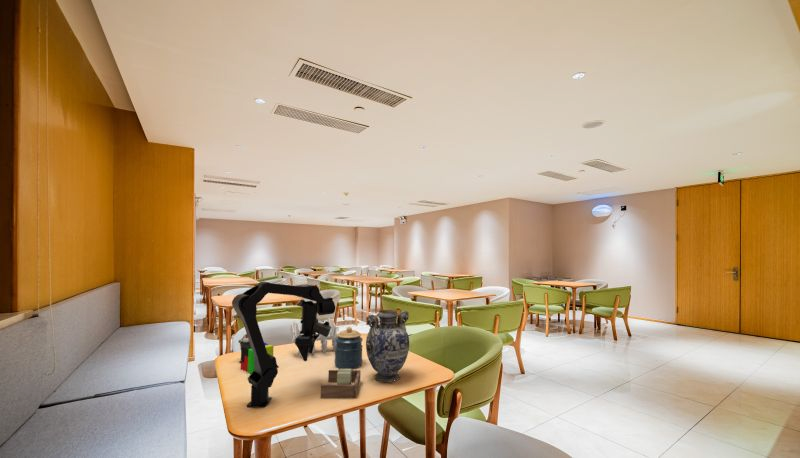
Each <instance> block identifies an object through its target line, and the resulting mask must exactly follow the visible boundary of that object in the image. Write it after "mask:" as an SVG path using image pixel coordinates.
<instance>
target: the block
mask: <svg viewBox="0 0 800 458" xmlns="http://www.w3.org/2000/svg"><path fill="white" fill-rule="evenodd" d="M337 370H338V373H337V382H336V385H352V383H353V382H352V370H353V369H340V368H338V369H337Z"/></svg>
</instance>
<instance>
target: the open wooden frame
mask: <svg viewBox="0 0 800 458" xmlns="http://www.w3.org/2000/svg"><path fill="white" fill-rule="evenodd" d="M338 370H339V369H329V370H328V375H327V376H328V378H327V379H328V380H327V381H328V383H337V373H338ZM352 383H354V384H351V385H337V384H321V385H320V398H319V399H357V396H358V393H359V388H360V383H361V370H360V369H358V370H357V369H352Z"/></svg>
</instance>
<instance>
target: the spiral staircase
mask: <svg viewBox="0 0 800 458" xmlns="http://www.w3.org/2000/svg"><path fill="white" fill-rule="evenodd" d="M326 321H327V322H329V325H330V326H331V330H330V332H329V335H328V336H327V337H325V336H323V335H321V334H320V335H319V337H318V338H317V339H316V340H315V342H316V341H320V344H321V347H320V348H321V349H322V350H321V352H322V353H326V351H327V349H328V346H327V345H328V341H330V340H331V346H332V351H335V346H336V341H335V339H336V338H338V336H337V334H338V333H340V332H341V331H340V330H339V328H340V327H339V326H336V324H335V322H334V320H333V319H331V318H330V317H328V318H327V319H325V320H324V322H322V320H321V319H318V322H319V323H325V322H326ZM289 328H290V329H289V330H290V334H291V342H292V343H295V339H296V338H297V337H298V336H299V335H303V334H300V331H301V326H300V325H299V323H298V322H296V320H294V321H293V322H291V324H290V327H289ZM316 334H318V333H316ZM315 348H316V344H315V343H314V347H313V351H312V354H310V355H311V356H313V355H314V353H315ZM297 349H298V348H297ZM298 355H299V357H301V358H302V356H301V353H300V351H299V349H298Z"/></svg>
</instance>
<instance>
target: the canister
mask: <svg viewBox="0 0 800 458" xmlns="http://www.w3.org/2000/svg"><path fill="white" fill-rule="evenodd" d="M361 335H362V333H361V332H359V331H358V330H356V329H353V328H352V327H351V326H348V327H346V329H345V330H341V331H340V333H338V334H337V336H338V338H336V339H335V341H336V346H335V350H334V366H335V368H337V369H352V370H355V369H358V368H360V367H361V366H362V363H363V344H362V342H363V337H361Z"/></svg>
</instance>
